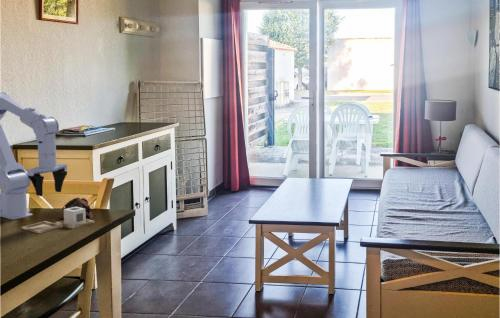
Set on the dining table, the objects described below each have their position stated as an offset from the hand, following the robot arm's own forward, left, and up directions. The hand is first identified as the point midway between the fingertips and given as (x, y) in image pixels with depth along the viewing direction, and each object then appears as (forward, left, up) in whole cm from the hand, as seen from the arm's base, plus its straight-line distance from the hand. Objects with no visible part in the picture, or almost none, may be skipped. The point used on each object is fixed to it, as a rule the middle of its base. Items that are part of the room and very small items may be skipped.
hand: (49, 193), depth 212 cm
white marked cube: (+9, +3, -10) cm, 14 cm away
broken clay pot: (+3, +10, -10) cm, 15 cm away
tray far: (+9, +3, -10) cm, 14 cm away
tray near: (+5, -7, -10) cm, 13 cm away
